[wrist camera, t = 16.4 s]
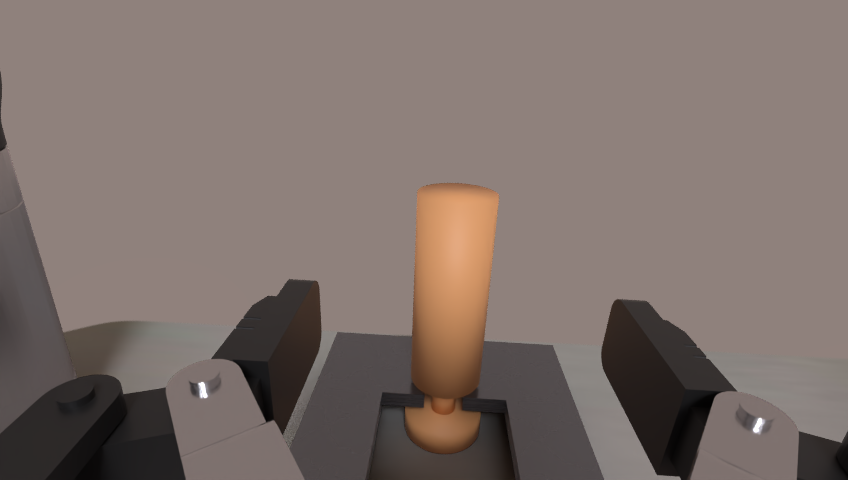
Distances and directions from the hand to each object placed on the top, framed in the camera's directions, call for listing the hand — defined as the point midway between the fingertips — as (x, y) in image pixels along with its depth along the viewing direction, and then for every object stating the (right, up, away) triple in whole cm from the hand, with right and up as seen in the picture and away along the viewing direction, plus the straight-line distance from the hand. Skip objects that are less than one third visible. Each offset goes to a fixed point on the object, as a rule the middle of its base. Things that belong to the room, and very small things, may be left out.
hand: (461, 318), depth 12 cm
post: (0, -10, +18) cm, 20 cm away
